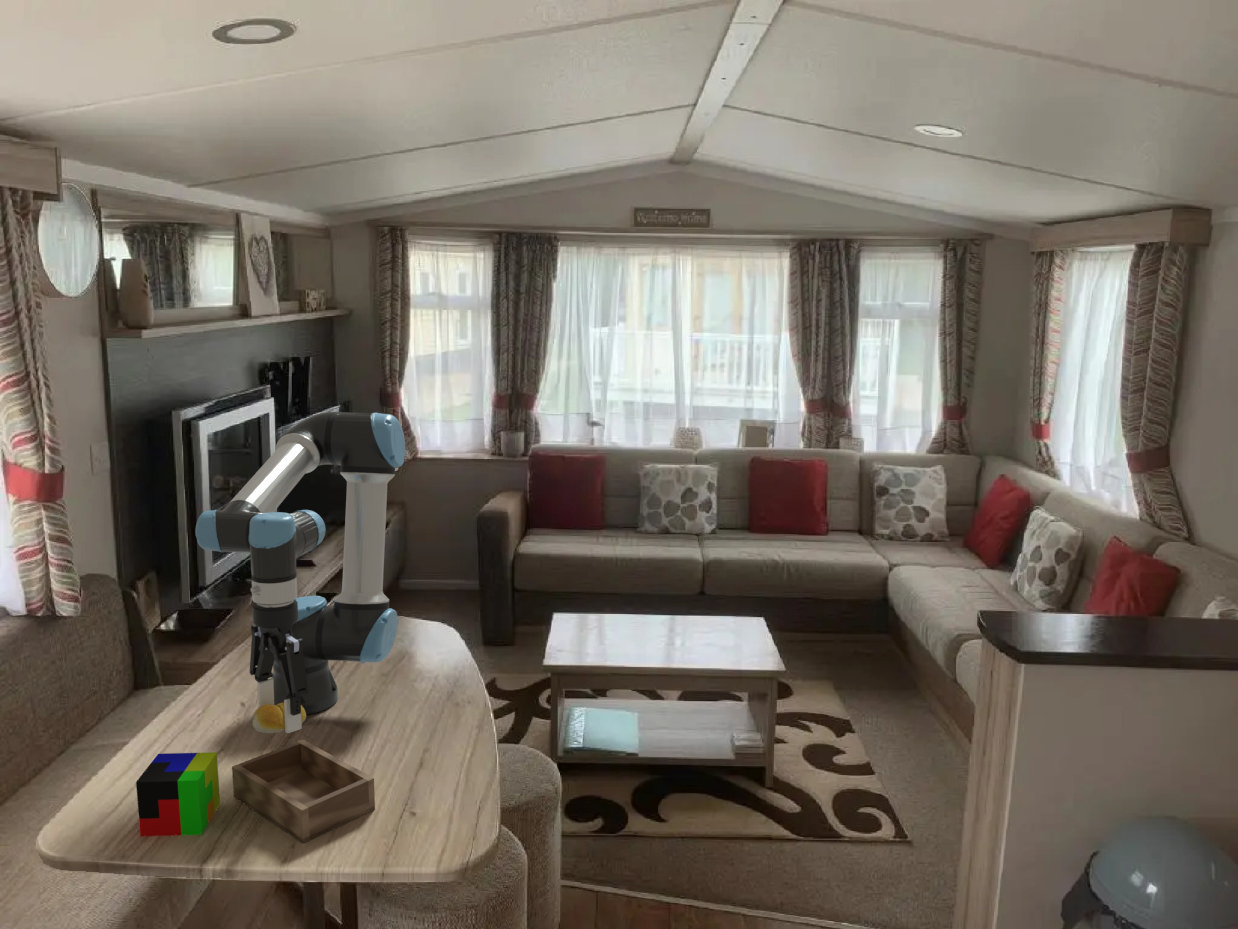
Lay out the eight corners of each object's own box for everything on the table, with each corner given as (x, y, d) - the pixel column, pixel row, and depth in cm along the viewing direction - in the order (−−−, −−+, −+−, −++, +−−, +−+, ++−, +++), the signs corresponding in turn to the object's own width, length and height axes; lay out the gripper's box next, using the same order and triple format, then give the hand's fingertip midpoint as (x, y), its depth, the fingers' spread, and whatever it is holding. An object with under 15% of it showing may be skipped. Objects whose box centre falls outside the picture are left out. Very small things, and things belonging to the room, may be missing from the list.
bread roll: (311, 727, 177) (310, 706, 176) (258, 738, 172) (257, 716, 172) (299, 711, 184) (298, 690, 183) (249, 721, 179) (248, 700, 178)
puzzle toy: (162, 805, 176) (158, 753, 175) (220, 804, 177) (216, 752, 175) (140, 837, 167) (136, 782, 165) (201, 835, 168) (198, 780, 166)
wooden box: (233, 797, 179) (231, 766, 178) (303, 768, 190) (302, 739, 189) (303, 843, 165) (301, 810, 164) (375, 809, 176) (374, 778, 175)
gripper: (225, 592, 178) (231, 711, 182) (287, 620, 164) (292, 748, 168) (264, 584, 184) (269, 700, 188) (327, 610, 170) (331, 734, 173)
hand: (279, 722), depth 178 cm, fingers closed on bread roll, 9 cm apart
